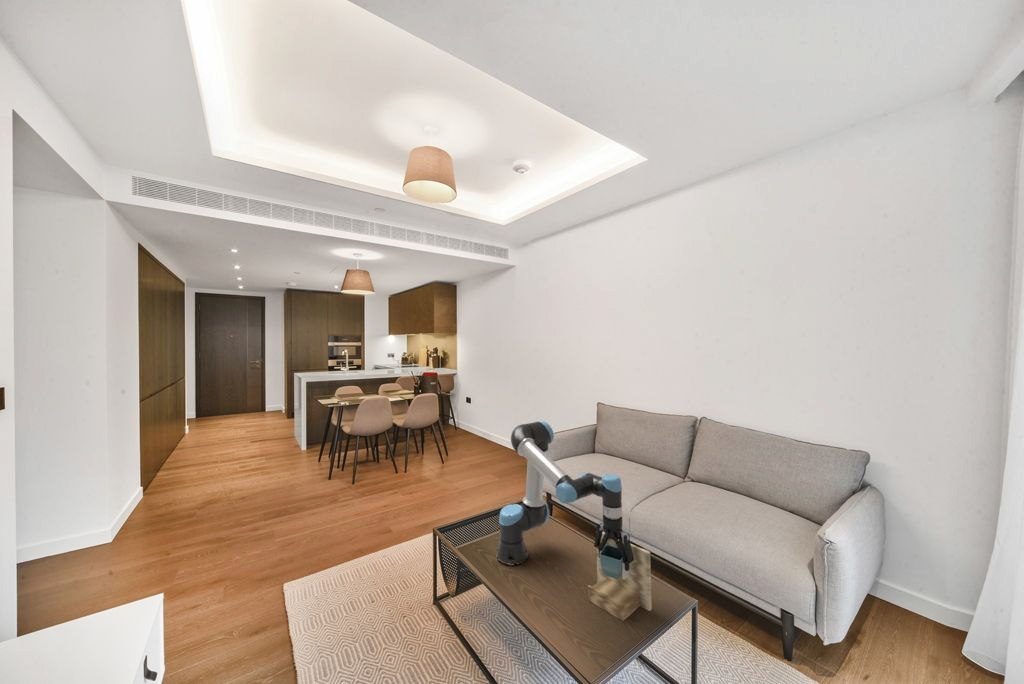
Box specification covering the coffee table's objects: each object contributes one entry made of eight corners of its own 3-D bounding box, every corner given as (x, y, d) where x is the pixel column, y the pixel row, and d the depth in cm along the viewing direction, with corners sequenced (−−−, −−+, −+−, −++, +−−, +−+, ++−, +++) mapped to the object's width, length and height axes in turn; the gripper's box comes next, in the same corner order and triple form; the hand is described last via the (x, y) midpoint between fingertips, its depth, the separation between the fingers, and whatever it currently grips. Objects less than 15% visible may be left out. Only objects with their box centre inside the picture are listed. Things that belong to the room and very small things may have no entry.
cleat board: (580, 594, 151) (578, 540, 152) (599, 580, 160) (598, 529, 161) (633, 627, 133) (631, 566, 134) (651, 609, 142) (650, 551, 143)
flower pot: (621, 584, 141) (621, 560, 141) (599, 577, 145) (598, 554, 145) (627, 572, 148) (627, 549, 148) (606, 565, 153) (605, 544, 153)
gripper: (584, 509, 153) (585, 564, 152) (632, 528, 136) (634, 589, 136) (595, 504, 158) (596, 557, 157) (642, 521, 141) (644, 580, 141)
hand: (613, 572), depth 147 cm, fingers closed on flower pot, 9 cm apart
